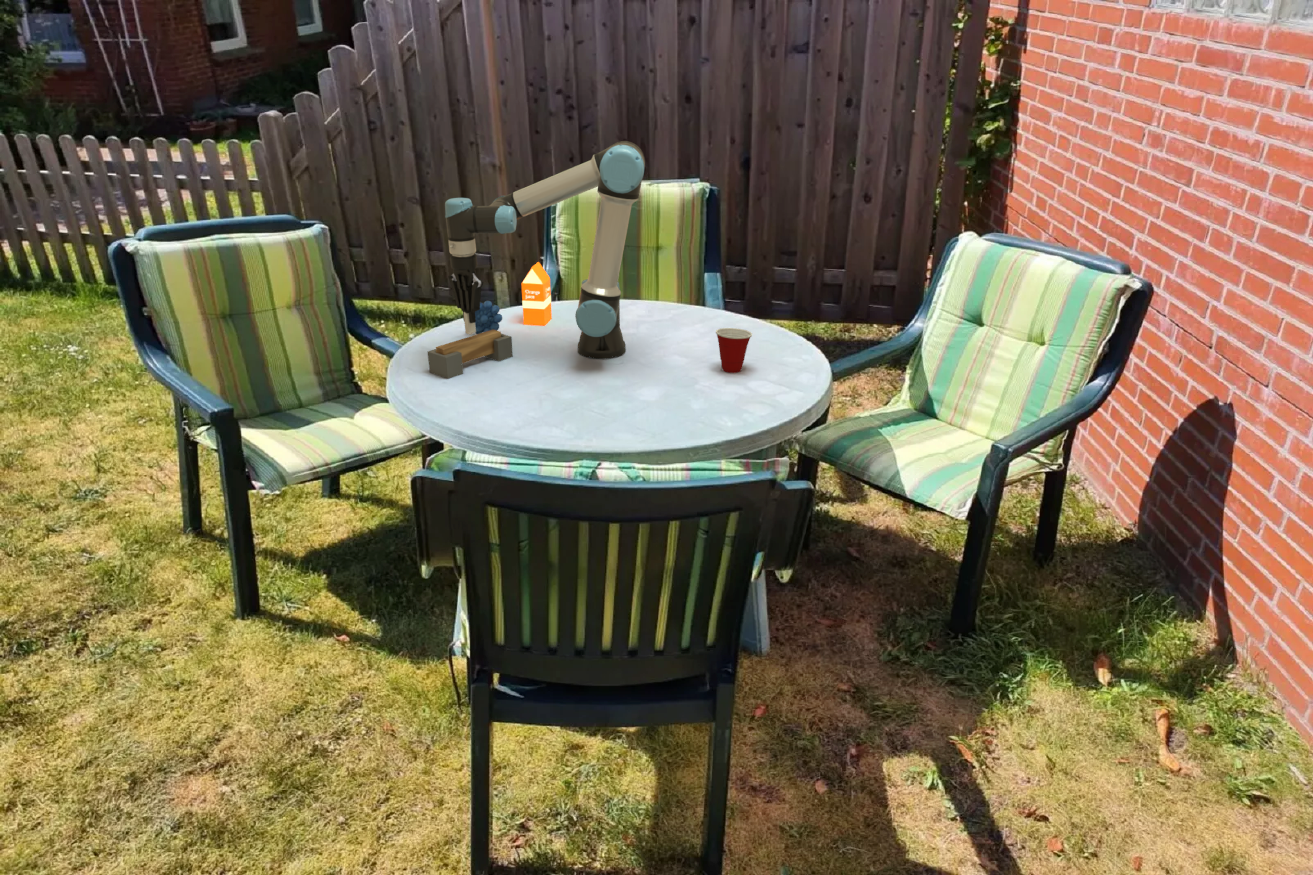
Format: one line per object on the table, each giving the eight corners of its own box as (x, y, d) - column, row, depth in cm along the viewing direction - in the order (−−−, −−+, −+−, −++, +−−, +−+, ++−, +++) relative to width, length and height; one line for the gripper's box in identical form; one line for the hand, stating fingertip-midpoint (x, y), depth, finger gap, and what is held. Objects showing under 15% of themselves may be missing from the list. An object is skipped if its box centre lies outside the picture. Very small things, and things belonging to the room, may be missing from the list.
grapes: (508, 333, 299) (505, 298, 294) (500, 339, 293) (498, 303, 288) (475, 330, 301) (472, 295, 296) (467, 336, 295) (464, 301, 290)
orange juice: (523, 324, 308) (520, 267, 299) (530, 317, 315) (527, 261, 307) (545, 326, 306) (542, 268, 298) (552, 318, 314) (549, 262, 306)
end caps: (512, 356, 278) (511, 336, 275) (448, 378, 260) (446, 357, 257) (494, 350, 283) (492, 331, 280) (429, 372, 265) (427, 351, 262)
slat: (502, 350, 277) (500, 331, 275) (445, 369, 262) (443, 349, 259) (494, 347, 279) (493, 329, 277) (437, 366, 264) (435, 347, 261)
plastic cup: (757, 369, 269) (760, 331, 264) (735, 378, 262) (737, 339, 257) (729, 360, 276) (731, 323, 271) (706, 369, 268) (708, 331, 263)
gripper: (438, 253, 259) (446, 331, 268) (467, 259, 251) (475, 340, 261) (458, 248, 264) (466, 325, 274) (488, 254, 256) (495, 333, 266)
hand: (470, 332), depth 267 cm, fingers closed
